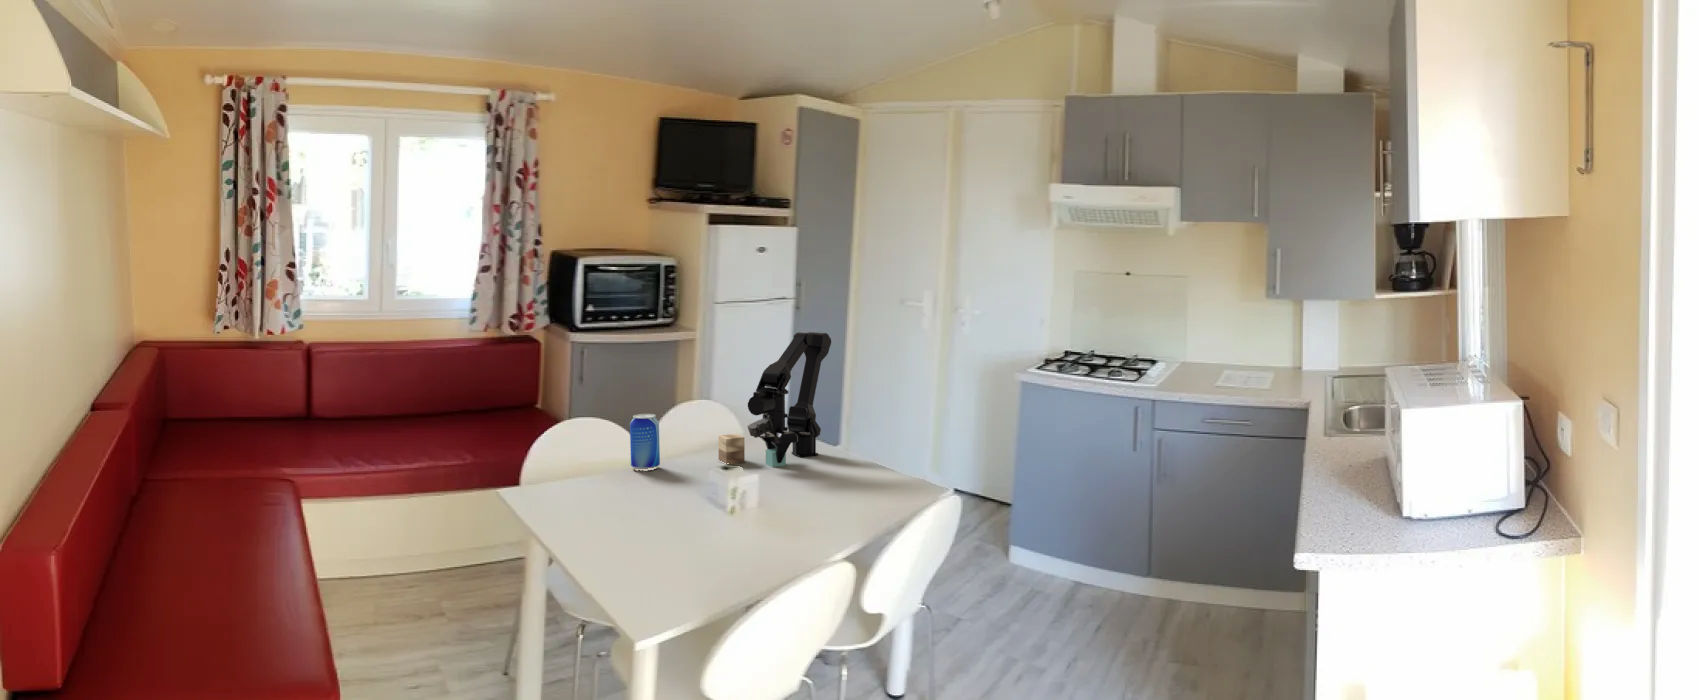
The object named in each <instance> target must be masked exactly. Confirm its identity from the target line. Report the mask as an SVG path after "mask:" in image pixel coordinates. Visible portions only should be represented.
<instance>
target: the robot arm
mask: <svg viewBox="0 0 1700 700" xmlns="http://www.w3.org/2000/svg"><path fill="white" fill-rule="evenodd" d="M831 345H832V339H831V337H830V335H829V334H828V333H827V332H818V331H817V332H814V331H813V332H812V331H809V332H801V331H798V332H796V333H795V334H793V338H792V340H791V342H790V343H789V344H788V346H787V347H786V349H785V350H784V351H783V352H782V354H781V355H780V357H779V359H777V360H776V361H775V362H773V363H771V364H768V366H767V367H765V369H764V370H763V372H762V374H761V376H760V380H759V382H758V384H757V385H756V388H755V391H754V392H752V393H753V394H752V395H753V396H752V397H750V398H749V399H748V402H747V408H748V411H749V412H750V413H751V415H752V416H756V417H757V416H761V415H762V418H761V419H759V420H756V421H754V422H751V423H750V424H748V425H747V429H748V432H749V435H750V436H751V437H753V438H755V439H756V438H760V439H761V440H762V441H763V442H764V444H765V446H766V449H774V448H775V449H776V457H777V463H781V462H782V460H783V458H784V456H785V453H787V451H788V449H789V447H790V446H791V444H792V451H791V454H792V455H795V456H797V457H799V458H804V457H812V456H819V453H818V452H817V448H816V447H817V439H816V438H818V437H819V436H821V431H822V429H821V427H820V425H819V424H818V422H817V421H816V419H817V418H816V416H817V414H816V412H815V408H814V399H815V395H816V390H817V386H818V385H817V384H818V381H819V374H820V369H821V365H822V361H823V360H824V359H825V358H826V357H827V355H828V354H829V351H830V348H831ZM803 354H804V356H805V361H804V367H803V372H802V377H801V382H800V387H799V392H798V397H797V402H796V403H795V404H794V405H791V406H789V409H788V413H786V397H785V395H788V394H789V391H788V390H787V388H786V387H787V386H788V384H789V382H790V380H791V379H792V375H791V372H792V369H793V368H794V366H795V365H796V364H797V362H798V361H799V360H800V358H801V356H802V355H803ZM786 419H787V420H786ZM786 425H787V426H786Z"/></svg>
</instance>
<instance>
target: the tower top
mask: <svg viewBox="0 0 1700 700" xmlns="http://www.w3.org/2000/svg"><path fill="white" fill-rule="evenodd" d="M719 449H721V450H723V451H725V452H733V451H742V450H745V449H746V448H745V436H743V435H740V434H738V433H731V434H721V435H718V450H719ZM745 451H746V450H745Z"/></svg>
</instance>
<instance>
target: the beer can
mask: <svg viewBox="0 0 1700 700" xmlns="http://www.w3.org/2000/svg"><path fill="white" fill-rule="evenodd" d="M656 416H657V415H656V414H654V413H639V414H633V416H632V417H633V418H632V419H631V421H630V422H629V435H630V436H629V439H630V441H629V442H630V443H629V444H630V466H631V467H632V470H634V469H648V468H654V467H657V466H658V467H659V466H660V464H661V461H660V460H661V458H660V457H661V456H660V453H661V452H660V451H661V449H660V422H659V420H658V419H657V417H656Z"/></svg>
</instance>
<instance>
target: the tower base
mask: <svg viewBox="0 0 1700 700" xmlns="http://www.w3.org/2000/svg"><path fill="white" fill-rule="evenodd" d="M745 451H746V450H742V451H733V452H725V451H723V450H721V449H719V448H718V461H719V460H720V461H722V462H724V463H726V464H727V463H729V464H730V465H736V464H745V459H746V458H745V456H746V455H745ZM720 461H719V462H720ZM722 462H721V463H722ZM724 463H723V464H724ZM731 463H733V464H731ZM726 464H725V465H726Z"/></svg>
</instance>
